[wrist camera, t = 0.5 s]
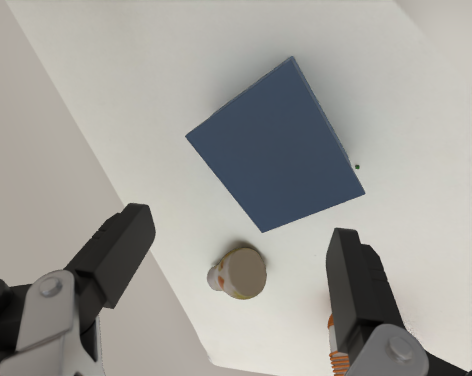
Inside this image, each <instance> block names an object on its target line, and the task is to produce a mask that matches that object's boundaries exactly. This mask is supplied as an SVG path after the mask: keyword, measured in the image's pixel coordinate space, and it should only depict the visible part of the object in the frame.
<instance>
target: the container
mask: <svg viewBox="0 0 472 376" xmlns="http://www.w3.org/2000/svg"><path fill="white" fill-rule="evenodd" d="M185 137H186V138H187V140H188V141H189V142H190V143H191V145H192V146H193V147H194V148H195V150H196V151H197V152H198V153H199V155H200V156H201V157H202V158H203V160H204V161H205V162H206V163H207V165H208V166H209V167H210V168H211V170H212V171H213V172H214V173H215V175H216V176H217V177H218V178H219V180H220V181H221V182H222V183H223V185H224V186H225V187H226V188H227V190H228V191H229V192H230V193H231V195H232V196H233V197H234V198H235V200H236V201H237V202H238V203H239V205H240V206H241V207H242V208H243V210H244V211H245V212H246V213H247V215H248V216H249V217H250V218H251V220H252V221H253V222H254V223H255V225H256V226H257V227H258V228H259V230H260V231H261V232H262V233H264V232H266V231H269V230H272V229H274V228H277V227H280V226H282V225H285V224H288V223H290V222H293V221H296V220H298V219H301V218H303V217H306V216H309V215H311V214H314V213H317V212H319V211H322V210H325V209H327V208H330V207H333V206H335V205H338V204H341V203H343V202H346V201H348V200H351V199H354V198H356V197H359V196H362V195H364V194H365V191H364V189H363V187H362V185H361V183H360V182H359V180H358V178H357V176H356V174H355V173H354V171H353V169H352V167H351V164H350V161H349V158H348V156H347V154H346V152H345V150H344V148H343V146H342V145H341V143H340V141H339V139H338V137H337V136H336V134H335V132H334V130H333V128H332V126H331V125H330V123H329V121H328V119H327V117H326V115H325V114H324V112H323V110H322V108H321V106H320V105H319V103H318V101H317V99H316V97H315V95H314V94H313V92H312V90H311V88H310V86H309V84H308V83H307V81H306V79H305V77H304V75H303V74H302V72H301V70H300V68H299V66H298V64H297V63H296V61H295V59H294V57H293V56H291V57H290V58H288V59H287V60H286V61H284V62H283V63H282V64H280V65H279V66H278V67H276V68H275V69H273V70H272V71H271V72H269V73H268V74H267V75H265V76H264V77H263V78H261V79H260V80H258V81H257V82H256V83H254V84H253V85H252V86H250V87H249V88H248V89H246V90H245V91H243V92H242V93H241V94H239V95H238V96H237V97H235V98H234V99H233V100H231V101H230V102H229V103H227V104H226V105H224V106H223V107H222V108H220V109H219V110H218V111H216V112H215V113H214V114H212V115H211V116H210V117H209V118H208V119H207V120H206V121H204V122H203V123H202V124H200V125H199V126H197V127H196V128H195V129H193V130H192V131H191V132H189V133H188V134H187V135H186V136H185Z"/></svg>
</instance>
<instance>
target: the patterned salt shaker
mask: <svg viewBox="0 0 472 376" xmlns="http://www.w3.org/2000/svg"><path fill="white" fill-rule="evenodd" d="M266 277H267V274H266V267H265V264H264V262H263V260H262V259H261V257H260V255H259V254H258V253H257V252H256V251H255V250H252V249H249V248H238V249H234V250H232V251H230V252H229V253H228V254H226V255H225V256H224V257H223V259H222V260H221V261H220V263H219V265H216V266H214V267H212V268H211V269H210V270H209V272H208V274H207V282H208V284H209V286H210V287H211V288H212V289H213V290H216V291H224V292H225V293H227V294H228V295H230V296H231V297H233V298H236V299H241V300H245V299H250V298H253V297H255V296H257V295H258V294H259V293H261V291H262V290H263V288H264V286H265V283H266Z"/></svg>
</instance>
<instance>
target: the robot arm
mask: <svg viewBox="0 0 472 376" xmlns="http://www.w3.org/2000/svg"><path fill="white" fill-rule="evenodd" d="M155 233H156V231H155V226H154V222H153V218H152V215H151V211H150V208H149V206H148V205H145V204H137V203H129V204H128V205H127V206H126V207H125V208H124V210H123V211H122V212H121V213H116V214H115V215H113V216H112V217H110V218H109V219H107V220H106V221H105V222H104V224H103V225H102V226H101V227H100V228H99V230H98V231H96V233H95V234H94V235H93V236H92V239H90V240H89V241H88V242H87V243H86V244H85V246H83V248H82V249H81V250H80V251H79V252H78V253H77V254H76V255H75V257H74V258H73V259H72V260H71V261H70V262H69V264H68V265H67V266H66V267H65V268H64V269H63V270H56V271H53V272H50V273H48V274H46V275H44V276H42V277H41V278H39V279H38V280H37V281H36V282H34V283H33V284H27V285H20V286H14V287H8V285H7V284H6V283H5V282H4V281H3V280H1V279H0V376H106V375H105V372H104V369H103V363H102V349H101V333H100V319H99V315H98V314H99V312H100V311H101V309H102V308H103V307H105V308H111V309H114V308H115V306H116V304H117V303H118V301H119V299H120V297H121V296H122V294H123V292H124V291H125V289H126V287H127V286H128V284H129V282H130V280H131V279H132V277H133V275H134V274H135V272H136V270H137V269H138V267H139V265H140V264H141V262H142V260H143V259H144V257H145V255H146V253H147V252H148V250H149V248H150V247H151V245H152V243H153V241H154V239H155ZM326 271H327V278H328V286H329V293H330V300H331V307H332V315H333V322H334V329H335V337H336V344H337V351H338V352H340V353H345V354H348V358H349V364H350V366H349V368H348V369H347V371H346V373H345V374H344V376H472V370H471V371H469V372H467V371H465V370H463V369H461V368H459V367H457V366H454V365H452V364H450V363H448V362H446V361H444V360H442V359H440V358H438V357H436V356H434V355H432V354H430V353H429V352H427V351H426V350H424V348H423V347H422V345H421V344H420V343H419V341H418V340H417V339H416V338H415V337H414V336H413V335H412V334H410V333H409V332H408V331H407V330H406V328H405V326H404V324H403V321H402V318H401V315H400V313H399V310H398V307H397V304H396V301H395V299H394V296H393V293H392V290H391V288H390V285H389V282H387V280H388V279H387V276H386V274H385V272H384V268H383V265H382V263H381V260H380V257H379V256H378V254H377V253H376V252H375V251H374V250H373V248H372V247H371V246H370V245H365V244H361V242H360V239H359V236H358V233H357V231H356V230H353V229H344V228H335V229H334V232H333V235H332V238H331V241H330V244H329V247H328V251H327V254H326Z"/></svg>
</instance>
